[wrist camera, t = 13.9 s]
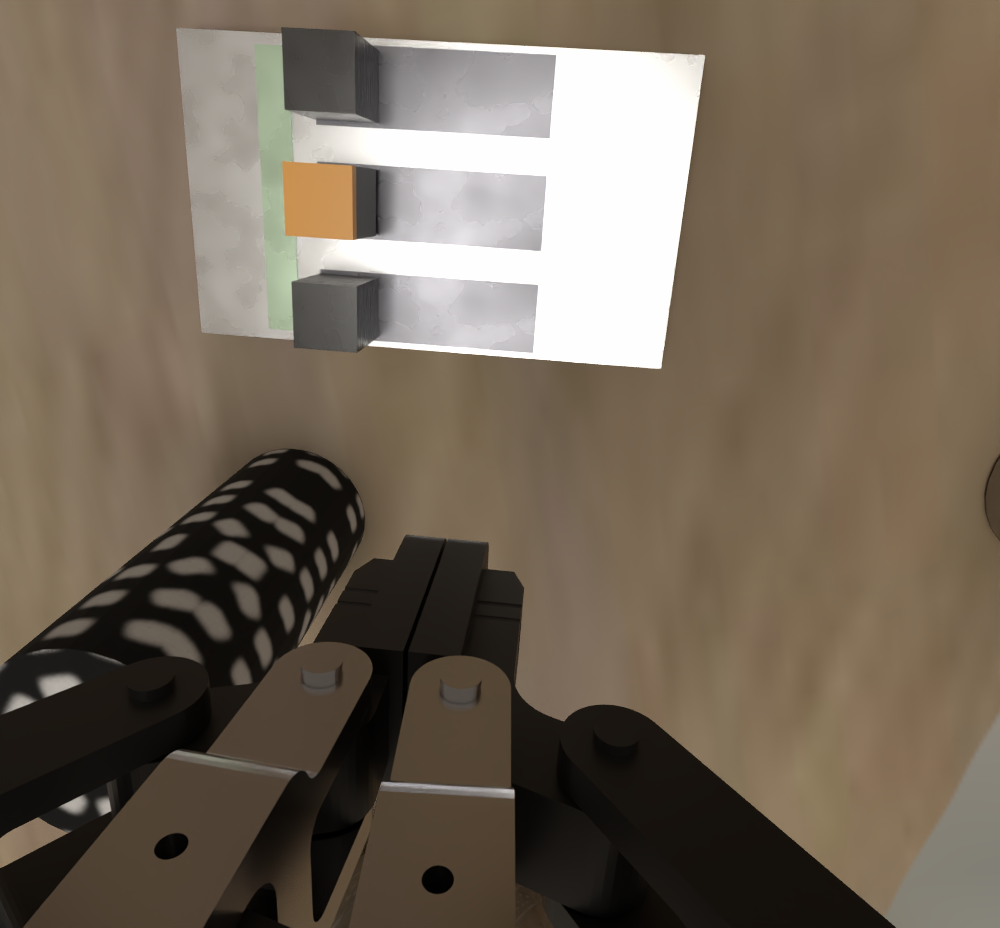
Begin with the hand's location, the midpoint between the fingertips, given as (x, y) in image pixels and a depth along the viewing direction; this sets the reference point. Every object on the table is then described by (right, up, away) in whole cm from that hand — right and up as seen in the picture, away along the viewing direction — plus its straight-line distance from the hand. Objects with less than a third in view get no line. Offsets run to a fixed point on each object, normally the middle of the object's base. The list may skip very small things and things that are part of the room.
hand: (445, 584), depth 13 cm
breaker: (-6, +15, +21) cm, 27 cm away
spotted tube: (-11, -1, +30) cm, 32 cm away
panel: (-2, +15, +23) cm, 28 cm away
